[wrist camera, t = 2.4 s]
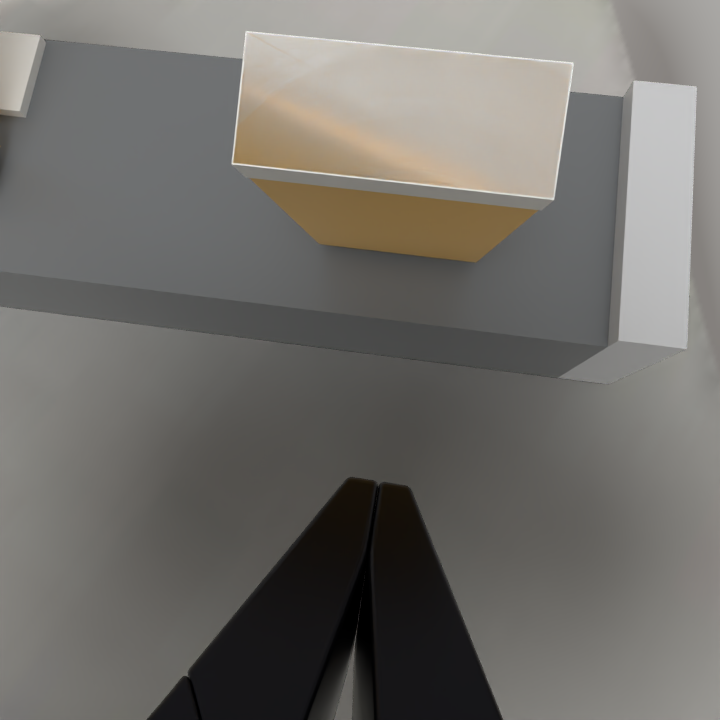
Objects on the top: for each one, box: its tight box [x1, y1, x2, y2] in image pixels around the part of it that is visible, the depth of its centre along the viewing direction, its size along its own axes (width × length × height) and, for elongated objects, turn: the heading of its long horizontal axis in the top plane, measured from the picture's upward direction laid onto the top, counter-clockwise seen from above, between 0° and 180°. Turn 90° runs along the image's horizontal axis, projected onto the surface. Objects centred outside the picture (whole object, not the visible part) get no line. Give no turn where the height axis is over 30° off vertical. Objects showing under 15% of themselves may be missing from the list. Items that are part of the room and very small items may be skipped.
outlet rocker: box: [232, 31, 574, 263], centre depth 12 cm, size 2×4×8 cm, turn 82°
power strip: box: [0, 31, 697, 384], centre depth 19 cm, size 7×26×5 cm, turn 82°
